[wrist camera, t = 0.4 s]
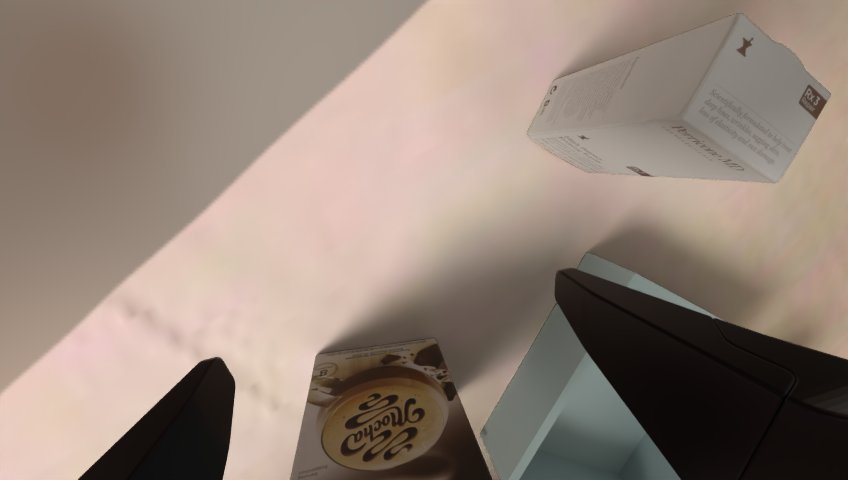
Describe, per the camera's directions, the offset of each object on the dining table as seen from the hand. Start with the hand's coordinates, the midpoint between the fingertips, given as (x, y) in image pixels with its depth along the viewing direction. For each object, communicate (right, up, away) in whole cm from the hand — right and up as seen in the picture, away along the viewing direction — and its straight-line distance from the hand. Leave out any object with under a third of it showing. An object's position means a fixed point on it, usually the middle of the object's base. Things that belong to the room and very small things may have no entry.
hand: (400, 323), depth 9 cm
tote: (+16, -10, +21) cm, 28 cm away
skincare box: (+11, +10, +16) cm, 22 cm away
